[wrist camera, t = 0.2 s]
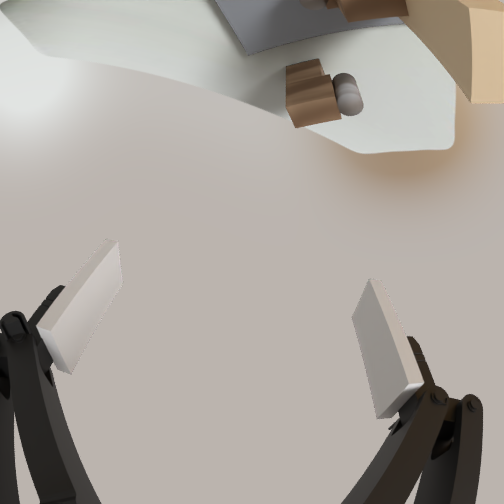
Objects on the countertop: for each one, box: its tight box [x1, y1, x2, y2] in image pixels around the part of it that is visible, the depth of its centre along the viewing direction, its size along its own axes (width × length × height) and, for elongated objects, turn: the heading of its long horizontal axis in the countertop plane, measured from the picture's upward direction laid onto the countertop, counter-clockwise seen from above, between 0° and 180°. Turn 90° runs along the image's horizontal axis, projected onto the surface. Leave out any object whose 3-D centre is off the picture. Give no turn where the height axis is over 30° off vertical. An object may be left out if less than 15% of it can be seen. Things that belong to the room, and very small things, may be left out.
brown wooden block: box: [286, 59, 363, 128], centre depth 34 cm, size 4×9×11 cm, turn 114°
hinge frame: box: [215, 0, 504, 104], centre depth 19 cm, size 14×25×25 cm, turn 114°
